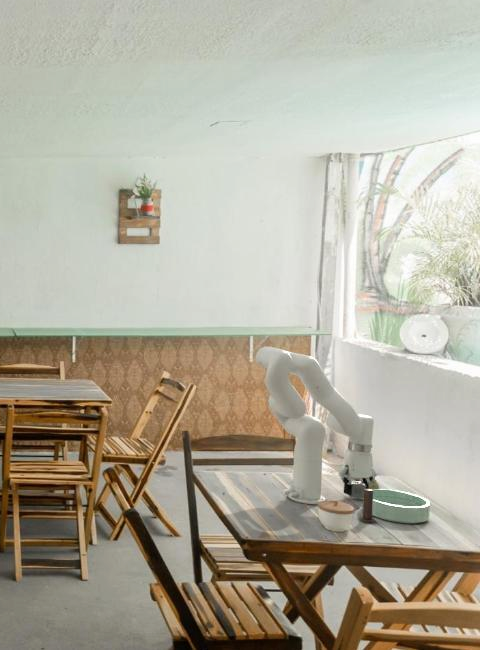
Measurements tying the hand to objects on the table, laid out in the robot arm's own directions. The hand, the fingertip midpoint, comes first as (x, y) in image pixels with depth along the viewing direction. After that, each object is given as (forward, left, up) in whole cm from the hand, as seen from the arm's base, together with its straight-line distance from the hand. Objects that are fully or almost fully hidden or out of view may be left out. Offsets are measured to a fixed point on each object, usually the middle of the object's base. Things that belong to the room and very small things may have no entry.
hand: (355, 493), depth 254 cm
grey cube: (0, 0, -1) cm, 1 cm away
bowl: (0, -17, -2) cm, 17 cm away
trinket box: (-31, -23, -2) cm, 39 cm away
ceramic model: (+17, +14, -2) cm, 22 cm away
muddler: (-15, -20, -2) cm, 25 cm away
